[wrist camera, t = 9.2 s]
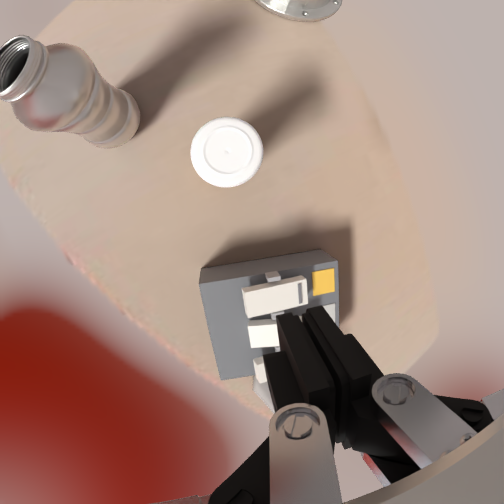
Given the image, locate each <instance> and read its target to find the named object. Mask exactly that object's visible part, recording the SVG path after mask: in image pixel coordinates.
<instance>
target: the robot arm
mask: <svg viewBox="0 0 504 504" xmlns="http://www.w3.org/2000/svg"><path fill="white" fill-rule="evenodd" d="M255 1H256V2H257V3H258V4H259V5H261V6H262V7H263V8H265V9H267V10H268V11H270V12H272V13H274V14H276V15H278V16H281V17H284V18H287V19H292V20H296V21H306V22H309V21H319V20H324V19H326V18H329V17H330V16H332V15H333V14H335V12H336V11H337V10H338V9H339V7H340V6H341V3H342V0H255ZM276 323H277V331H278V338H279V346H280V351H279V352H274V353H269V354H264V355H263V361H264V367H265V372H266V378H267V382H268V387H269V391H270V395H271V399H272V403H273V407H274V411H275V413H274V415H273V416H272V418H271V419H270V424H269V437H268V438H267V439H266V440H265V441H264V442H263V443H262V444H261V445H260V446H259V447H258V448H257V450H256V451H255V452H254V453H253V454H252V455H251V456H250V457H249V458H248V459H247V460H246V461H245V462H244V463H243V464H242V465H241V466H240V467H239V468H238V469H237V470H236V471H235V472H234V473H233V474H232V475H231V476H230V477H229V478H227V479H226V480H225V481H224V482H223V483H222V484H221V485H220V486H219V487H218V488H216V490H215V491H214V492H213V493H212V494H210V495H206V496H202V497H198V495H195V496H191V497H186V498H181V499H176V500H171V501H165V502H160V503H153V504H504V389H502V390H500V391H497V392H495V393H493V394H491V395H488V396H486V397H484V398H482V399H481V401H480V402H479V401H475V400H468V399H460V398H451V397H445V396H438V395H433V394H432V393H430V392H429V391H428V390H427V389H426V388H425V387H424V386H422V385H421V384H420V383H419V382H418V381H417V380H415V379H414V378H412V377H411V376H408V375H405V374H399V373H394V374H388V375H385V376H384V375H383V373H382V372H381V371H380V369H379V368H378V367H377V366H376V364H375V363H374V362H373V360H372V359H371V358H370V356H369V355H368V354H367V353H366V351H365V350H364V349H363V347H362V346H361V345H360V344H359V342H358V341H357V340H356V338H355V337H354V336H353V335H352V334H347V335H344V334H343V333H342V331H341V330H340V329H339V327H338V326H337V325H336V323H335V322H334V321H333V319H332V318H331V317H330V315H329V314H328V313H327V311H326V310H325V309H324V307H323V306H322V305H320V306H316V307H312V308H307V309H306V313H303V314H302V321H301V319H300V318H299V316H298V315H294V316H293V314H292V313H291V312H289V313H285V314H280V315H276ZM335 442H336V443H340V442H342V445H343V447H344V449H348V448H351V447H352V449H353V450H355V451H359V452H360V453H361V456H362V458H363V460H364V461H365V462H366V464H367V465H368V466H369V468H370V469H371V470H372V472H373V473H374V474H375V475H376V477H377V478H378V479H379V481H380V482H381V484H382V485H383V486H384V488H381V489H379V490H377V491H374V492H372V493H369V494H366V495H364V496H361V497H358V498H356V499H353V500H350V501H348V502H344V503H342V498H341V492H340V486H339V481H338V476H337V470H336V465H335V460H334V446H335Z"/></svg>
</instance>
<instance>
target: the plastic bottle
mask: <svg viewBox="0 0 504 504" xmlns="http://www.w3.org/2000/svg"><path fill="white" fill-rule="evenodd" d="M0 98H1V100H3V101H5V102H8V103H11V105H12V109H13V112H14V114H15V116H16V118H17V119H18V120H19V121H20V122H21V123H22V124H23V125H24V126H25V127H27V128H29V129H30V130H34V131H40V132H69V133H74V134H78V135H79V136H81V137H83V138H84V139H86V140H87V141H88V142H89V143H91V144H92V145H94V146H96V147H99V148H113V147H118V146H121V145H123V144H125V143H126V142H128V141H129V140H130V139H131V138H132V137H133V136H134V134H135V133H136V131H137V129H138V126H139V123H140V111H139V107H138V105H137V103H136V101H135V99H134V98H133V97H132V96H131V95H130V94H129V93H127V92H125V91H123V90H121V89H119V88H115V87H114V86H112V85H110V84H109V83H108V82H107V81H106V80H105V79H104V78H103V77H102V76H101V75H100V73H99V72H98V70H97V68H96V67H95V65H94V63H93V62H92V60H91V59H90V57H89V56H88V55H87V54H86V53H85V51H84V50H82V49H81V48H79V47H77V46H74V45H70V44H65V43H58V44H53V45H49V46H44V45H43V44H41V43H40V42H38V41H34V40H33V39H31V38H30V37H29V36H25V35H18V36H15V37H13V38H11V39H10V40H8V41H7V42H6V43H5V44H3V45H2V46H1V48H0Z"/></svg>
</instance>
